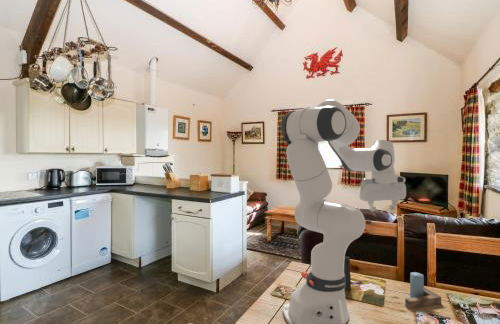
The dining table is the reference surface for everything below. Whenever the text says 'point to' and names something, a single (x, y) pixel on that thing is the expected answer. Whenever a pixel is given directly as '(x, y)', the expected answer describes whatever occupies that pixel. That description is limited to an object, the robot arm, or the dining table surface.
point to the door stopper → (347, 272)
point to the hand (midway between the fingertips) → (382, 210)
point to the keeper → (416, 284)
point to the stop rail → (423, 300)
